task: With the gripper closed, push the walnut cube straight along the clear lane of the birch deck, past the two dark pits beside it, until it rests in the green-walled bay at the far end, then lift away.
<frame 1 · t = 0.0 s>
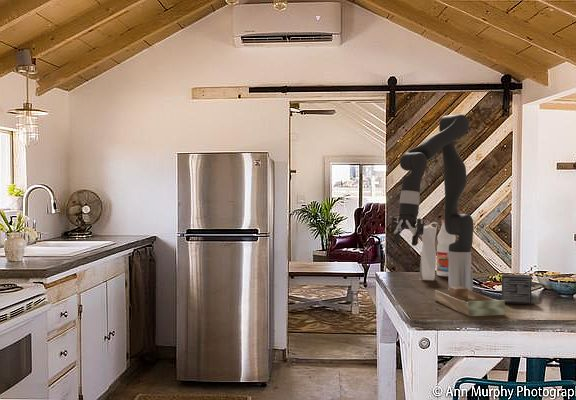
hand: (405, 244, 218), 22 cm above the table, tool pointing down, fingers open, 8 cm apart
fruit juice: (446, 275, 285), on the table
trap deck: (467, 306, 210), on the table
walnut block: (458, 300, 211), point 2 cm above the table, touching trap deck
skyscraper: (428, 280, 273), on the table
small box: (516, 302, 218), on the table
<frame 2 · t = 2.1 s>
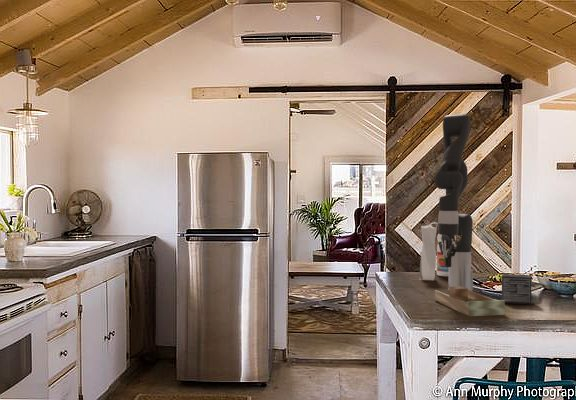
hand: (447, 266, 219), 14 cm above the table, tool pointing down, fingers closed
nothing on the table moved.
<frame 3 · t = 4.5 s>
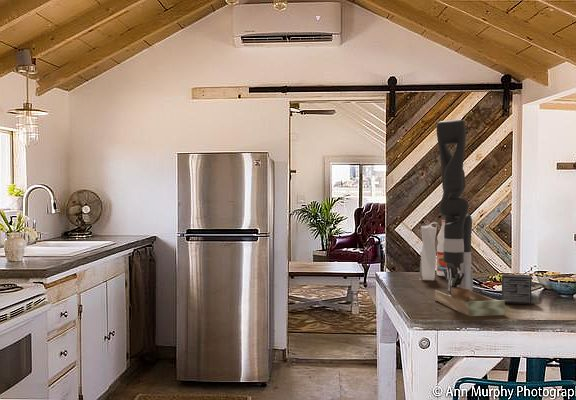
hand: (453, 295, 215), 3 cm above the table, tool pointing down, fingers closed
walnut block: (460, 301, 210), point 2 cm above the table
everything else where it was.
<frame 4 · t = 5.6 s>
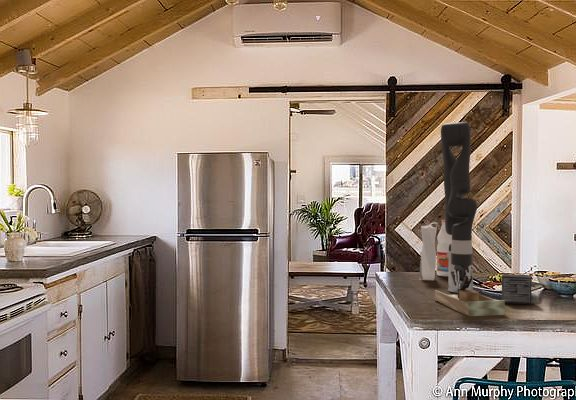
hand: (461, 298, 208), 3 cm above the table, tool pointing down, fingers closed
walnut block: (468, 305, 203), point 2 cm above the table, touching gripper
everything else where it was.
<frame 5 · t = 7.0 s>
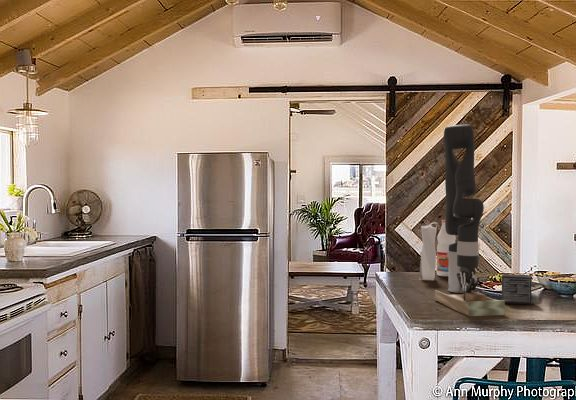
hand: (467, 301, 204), 3 cm above the table, tool pointing down, fingers closed
walnut block: (475, 307, 199), point 2 cm above the table, touching gripper, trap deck
everything else where it was.
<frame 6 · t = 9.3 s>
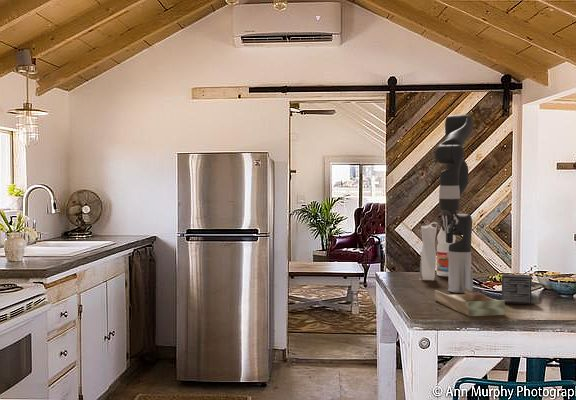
hand: (449, 242, 214), 23 cm above the table, tool pointing down, fingers closed
walnut block: (475, 307, 199), point 2 cm above the table, touching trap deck
everything else where it was.
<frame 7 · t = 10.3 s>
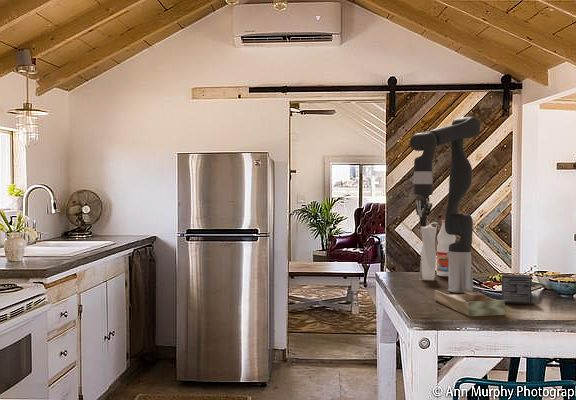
hand: (422, 226, 225), 29 cm above the table, tool pointing down, fingers closed
nothing on the table moved.
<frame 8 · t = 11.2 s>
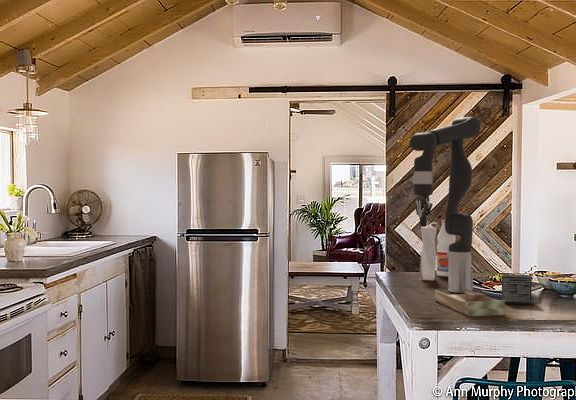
hand: (422, 226, 225), 29 cm above the table, tool pointing down, fingers closed
nothing on the table moved.
at the end: walnut block inside the target area on the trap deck (0.7 cm from its centre), point 2.0 cm above the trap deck's base; walnut block tilted 0° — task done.
